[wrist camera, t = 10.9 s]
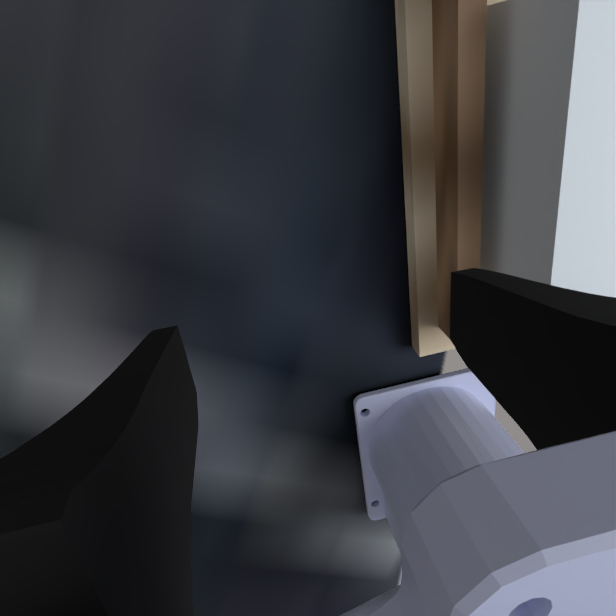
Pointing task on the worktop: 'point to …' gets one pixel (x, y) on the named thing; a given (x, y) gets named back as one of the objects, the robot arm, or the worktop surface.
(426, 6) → the cradle jig
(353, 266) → the worktop surface
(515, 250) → the block
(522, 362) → the robot arm
